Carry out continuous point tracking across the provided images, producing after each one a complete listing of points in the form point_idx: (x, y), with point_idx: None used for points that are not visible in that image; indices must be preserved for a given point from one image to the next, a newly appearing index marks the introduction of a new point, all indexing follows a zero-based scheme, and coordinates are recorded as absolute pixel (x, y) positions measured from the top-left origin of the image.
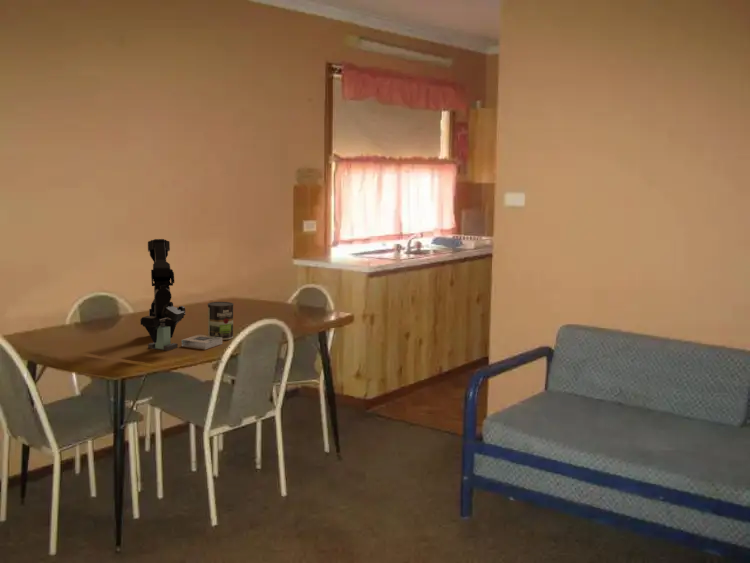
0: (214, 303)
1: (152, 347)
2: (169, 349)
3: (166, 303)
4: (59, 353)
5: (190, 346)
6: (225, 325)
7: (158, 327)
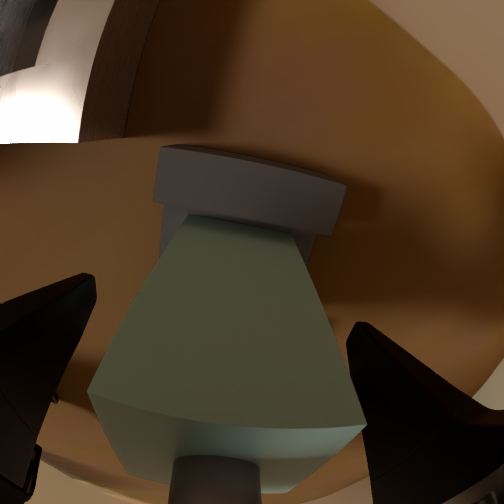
0: None
1: None
2: (304, 171)
3: None
4: (357, 470)
5: (131, 38)
6: None
7: (500, 424)
